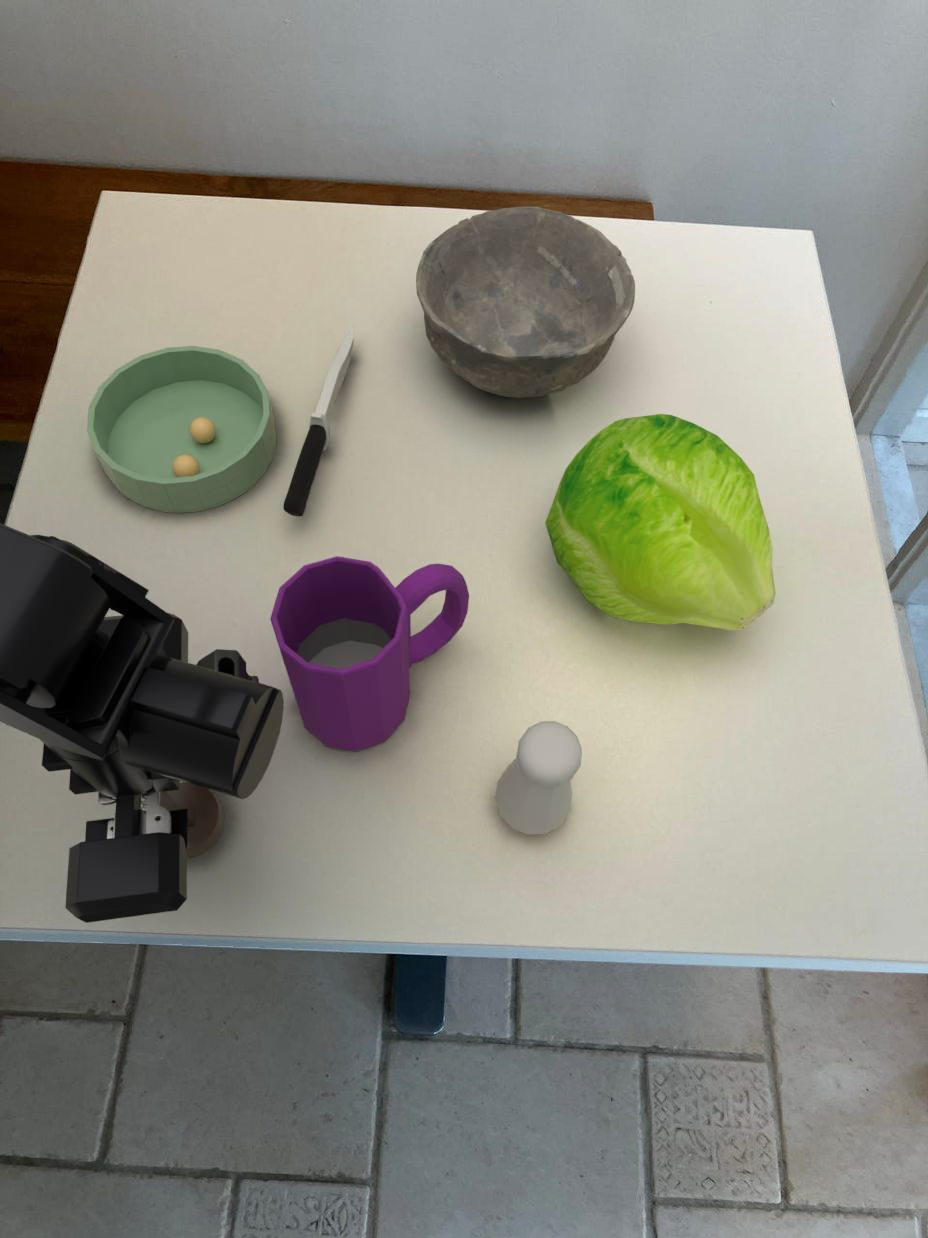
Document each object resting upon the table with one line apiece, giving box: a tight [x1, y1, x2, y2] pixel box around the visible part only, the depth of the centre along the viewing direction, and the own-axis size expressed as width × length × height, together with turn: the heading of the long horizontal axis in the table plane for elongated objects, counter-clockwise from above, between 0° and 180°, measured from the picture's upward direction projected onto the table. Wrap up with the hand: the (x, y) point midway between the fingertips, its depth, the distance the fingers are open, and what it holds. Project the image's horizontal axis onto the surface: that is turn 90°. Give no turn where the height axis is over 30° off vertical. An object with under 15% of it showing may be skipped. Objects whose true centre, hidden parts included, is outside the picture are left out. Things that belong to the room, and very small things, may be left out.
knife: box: [282, 322, 355, 517], centre depth 84 cm, size 25×2×5 cm, turn 171°
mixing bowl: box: [86, 345, 277, 514], centre depth 82 cm, size 16×16×4 cm
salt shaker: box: [494, 720, 583, 836], centre depth 63 cm, size 6×6×13 cm
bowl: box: [415, 206, 636, 399], centre depth 87 cm, size 21×21×10 cm
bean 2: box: [189, 417, 216, 443], centre depth 83 cm, size 2×2×2 cm
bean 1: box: [172, 455, 200, 477], centre depth 81 cm, size 2×2×2 cm
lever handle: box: [141, 782, 225, 859], centre depth 62 cm, size 5×5×11 cm
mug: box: [270, 555, 470, 752], centre depth 67 cm, size 9×16×15 cm, turn 126°
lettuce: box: [544, 413, 776, 631], centre depth 73 cm, size 17×20×15 cm
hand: (167, 797), depth 61 cm, fingers open, 5 cm apart
